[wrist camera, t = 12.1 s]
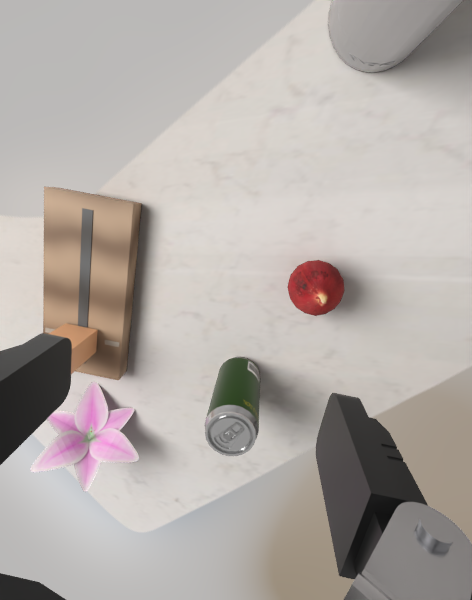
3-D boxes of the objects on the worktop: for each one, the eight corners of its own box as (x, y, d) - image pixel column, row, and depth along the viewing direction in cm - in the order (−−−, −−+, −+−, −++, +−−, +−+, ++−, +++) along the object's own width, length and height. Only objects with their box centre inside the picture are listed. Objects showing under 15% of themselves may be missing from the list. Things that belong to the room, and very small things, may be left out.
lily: (158, 441, 49) (148, 458, 40) (84, 489, 47) (54, 519, 38) (119, 370, 51) (100, 371, 41) (45, 413, 48) (7, 425, 39)
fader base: (58, 187, 39) (43, 186, 36) (141, 203, 38) (132, 203, 36) (55, 356, 45) (42, 365, 43) (126, 370, 45) (118, 380, 42)
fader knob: (65, 323, 40) (32, 343, 35) (97, 329, 40) (69, 351, 35) (65, 345, 41) (32, 368, 36) (96, 351, 41) (68, 376, 36)
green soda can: (237, 346, 42) (226, 400, 31) (268, 372, 43) (270, 434, 32) (211, 374, 44) (191, 435, 32) (241, 399, 45) (233, 467, 33)
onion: (276, 285, 40) (278, 305, 32) (306, 245, 38) (316, 256, 31) (315, 312, 40) (326, 338, 33) (346, 274, 39) (366, 292, 31)
